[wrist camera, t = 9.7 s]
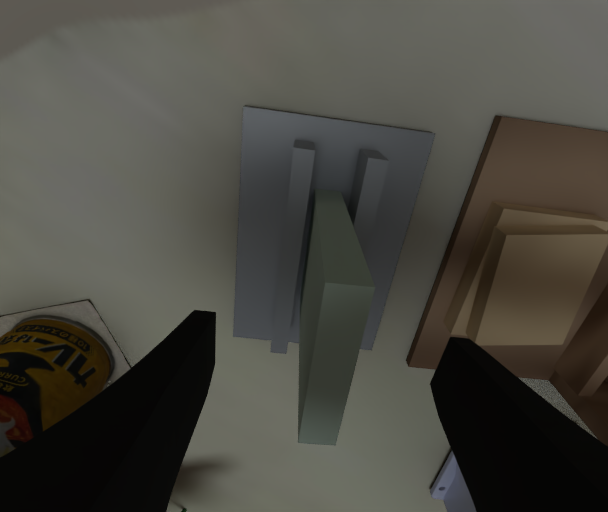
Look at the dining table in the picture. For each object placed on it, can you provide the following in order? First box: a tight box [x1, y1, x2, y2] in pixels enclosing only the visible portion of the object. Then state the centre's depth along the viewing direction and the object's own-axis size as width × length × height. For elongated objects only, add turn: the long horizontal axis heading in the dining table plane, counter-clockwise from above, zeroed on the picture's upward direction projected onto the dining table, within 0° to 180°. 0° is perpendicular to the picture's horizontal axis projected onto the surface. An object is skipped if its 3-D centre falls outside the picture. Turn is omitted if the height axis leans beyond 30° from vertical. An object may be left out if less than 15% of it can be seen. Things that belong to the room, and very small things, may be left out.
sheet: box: [298, 189, 375, 445], centre depth 13 cm, size 6×1×8 cm, turn 173°
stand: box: [233, 106, 435, 354], centre depth 16 cm, size 12×8×2 cm, turn 173°
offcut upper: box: [466, 225, 608, 346], centre depth 16 cm, size 6×4×1 cm
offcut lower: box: [444, 201, 608, 336], centre depth 17 cm, size 7×5×1 cm
